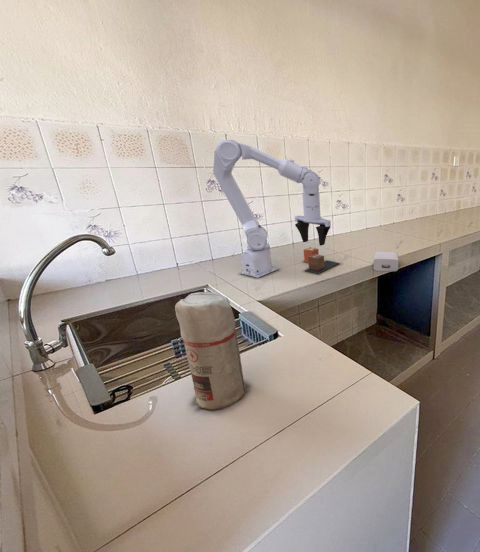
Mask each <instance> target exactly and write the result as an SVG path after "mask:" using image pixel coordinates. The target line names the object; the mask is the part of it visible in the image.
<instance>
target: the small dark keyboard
mask: <svg viewBox="0 0 480 552" xmlns="http://www.w3.org/2000/svg"><path fill="white" fill-rule="evenodd" d="M338 265H340V262H336V261H332V260H324V267H325V269H323V270H321V271H318V272H317V271H312V270H309V268H307V269H304V272H307V273H310V274H316V275H321V274H322V273H324V272H326V271H328V270H331V269H332V268H334V267H336V266H338Z"/></svg>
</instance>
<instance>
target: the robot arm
mask: <svg viewBox="0 0 480 552" xmlns="http://www.w3.org/2000/svg"><path fill="white" fill-rule="evenodd" d="M213 154H214V157H213V166H212V167H213V168H212V173H213V175H214V177H215V179H216V181H217V183H218V184H219V186H220V188H221V190H222V191H223V194H224V196H225V197H226V199H227V201H228V203H229V204H230V206H231V208H232V209H233V211H234V213H235V215H236V217H237V218H238V221H239V222H240V224H241V226H242V229H243V233H244V235H245V236H246V244H247V246H246V248H247V249H246V250H245V251H243V252H242V253H241V254H240V262H241V269H242V271H241V273H240V274H242V275H245V276H249V277H253V278H257V279H258V278H261V277H263V276H266V275H268V274H271V273H273V272H276V271H278V268H277V267H273V266H272V257H271V247H270V244H269V243H268V232H267V229H266V228H264V227H263V226H261V224H260V222H259V221H258V219H256V217H255V215H254V213H253V211H252V209H251V208H250V206H249V203H248V202H247V200H246V198H245V196H244V194H243V192H242V190H241V189H240V187H239V185H238V183H237V181H236V179H235V177H234V175H233V171H234V168H235V166H236V163H237V162H238V161H239V160H240V159H241V160H254V161H256V162H258V163H261V164H263V165H266V166H267V167H270V168H273V169H275V170H277V173H278V174H279V176H280V177H283V178H285V179H288V180H289V181H292V182H294V183H297V184H302V193H301V194H302V207H303V208H302V209H303V215H295V216H294V222H295V224H294V225H295V227H296V229H297V231H298V232H299V234H300V237H301V240H302V243H307V242H309V228H310V225H318V226H315V229H316V232H317V237H318V245H319V246H325V244H326V239H327V235H328V233H329V231H330V229H331V225H332V223H331V221H332V220H329V219H326V218H322V216H321V200H320V199H321V197H320V192H319V191H320V188H319V187H320V184H321V180H320V177H319V175H318V174H317V173H316V172H315V171H313V170H312V169H309V167H308V166H305V165H304V166H303V165H300V164H298V163H297V162H296V163H295V160H294V159H292V158H290V159H288V158H285V159H281V160H280V159H278V158H276V157H274V156H273V155H270V154H268V153H266V152H264V151H262V150H260V149H259V148H258V149H257V148H256V147H254V146H251V145H249V144H245V143H243V142H238V141H236V140H234V139H222V140H221V141H219V142H218V144H217V145H216V147H215V149H214V151H213Z"/></svg>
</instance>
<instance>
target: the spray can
mask: <svg viewBox="0 0 480 552" xmlns="http://www.w3.org/2000/svg"><path fill="white" fill-rule="evenodd" d="M174 310H175V317H176V319H177V321H178V324H179V329H180V337H181V339H182V341H183V345H184V349H185V354H186V358H187V362H188V367H189V370H190V375H191V381H192V382H193V389H194V393H195V397H196V398H195V404H196V405H197V406H198V407H199V408H200V409H201V408H202V409H206V410H219V409H222V408H226V407H229V406H231V405H233V404H234V403H236V402H237V401H238V400H240V399H241V398H243V397H244V396H245V394H246V391H247V386H246V384H245V379H244V372H243V366H242V362H241V361H242V359H241V353H240V348H239V342H238V335H237V329H236V319H235V316H234V312H233V309H232V305H231V301H230V300H229V297H227V296H225V295H221V294H220V293H218V292H214V291H213V292H211V291H208V292H207V291H206V292H205V291H203V292H202V291H198V292H193V293H190V294H188V295H187V296H186V297H185V298H181V299H180V300H179V301H177V303H175V305H174Z"/></svg>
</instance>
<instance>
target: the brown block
mask: <svg viewBox="0 0 480 552" xmlns="http://www.w3.org/2000/svg"><path fill="white" fill-rule="evenodd" d="M308 261H309V263H308V269H309V270H312V271H317V272H318V271H321V270H323V269H325V267H324V261H325V256H324V255H322V254H319V255H317V254H314V255H312V256H309V257H308Z"/></svg>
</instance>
